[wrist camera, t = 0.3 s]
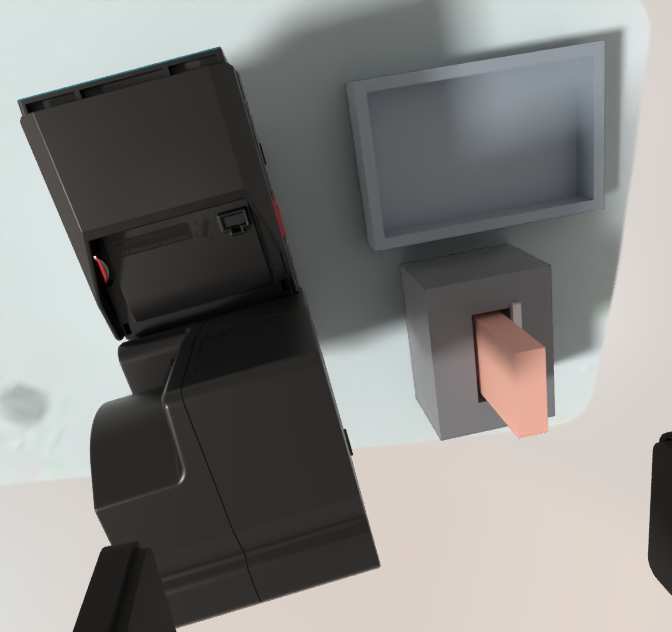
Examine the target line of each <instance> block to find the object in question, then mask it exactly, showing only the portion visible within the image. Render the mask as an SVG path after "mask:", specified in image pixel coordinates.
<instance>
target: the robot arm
mask: <svg viewBox="0 0 672 632" xmlns="http://www.w3.org/2000/svg"><path fill="white" fill-rule="evenodd" d="M652 460H653V461H652V480H651V481H652V482H651V501H650V523H649V545H648V546H649V547H648V561H649V565H650V568H651V570H652V572H653V574H654V576H655V577H656V578H657V580H658V581H659V582H660V583H661V584H662V585H663V586H664V587H665V588H666V590H667V591H668V592H669V593H670V594H671V595H672V432H667V433H664V434H662V436H661V437H660V440H659V442H658V443H656V444H655V445H654V447H653V457H652ZM73 632H176V629H175V625H174V622H173V618H172V615H171V612H170V608H169V605H168V601H167V598H166V595H165V591H164V588H163V584H162V581H161V577H160V574H159V571H158V567H157V564H156V560H155V557H154V554H153V551H152V549H151V547H145V548H141V545H140V543H139V542H138V541H131V542H127V543H122V544H117V545H112V546H107V547H104V548H103V549H102V550H101V552H100V555H99V557H98V561H97V563H96V566H95V569H94V572H93V575H92V577H91V581H90V583H89V586H88V589H87V592H86V595H85V598H84V601H83V604H82V606H81V609H80V612H79V615H78V618H77V621H76V624H75V627H74V629H73Z"/></svg>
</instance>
